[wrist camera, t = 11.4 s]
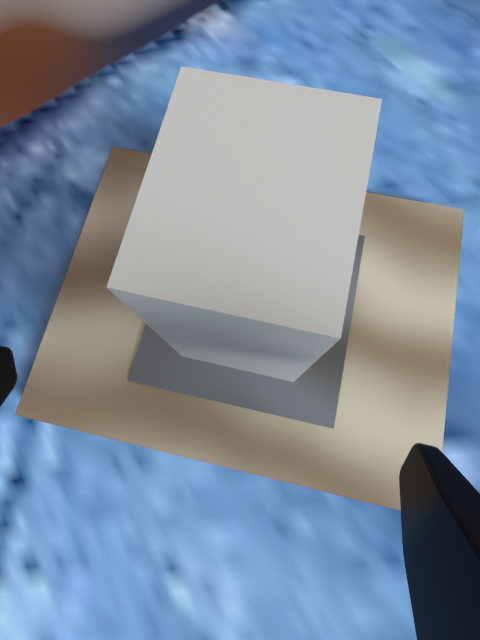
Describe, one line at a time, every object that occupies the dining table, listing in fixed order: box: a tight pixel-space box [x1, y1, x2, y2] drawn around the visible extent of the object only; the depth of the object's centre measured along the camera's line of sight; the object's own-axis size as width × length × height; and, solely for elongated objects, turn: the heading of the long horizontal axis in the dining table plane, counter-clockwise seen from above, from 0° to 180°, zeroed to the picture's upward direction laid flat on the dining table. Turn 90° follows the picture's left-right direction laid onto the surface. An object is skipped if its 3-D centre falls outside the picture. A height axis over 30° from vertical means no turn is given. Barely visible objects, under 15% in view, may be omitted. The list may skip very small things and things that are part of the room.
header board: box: [15, 147, 464, 511], centre depth 17 cm, size 14×18×5 cm
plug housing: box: [107, 66, 382, 382], centre depth 13 cm, size 6×5×9 cm
